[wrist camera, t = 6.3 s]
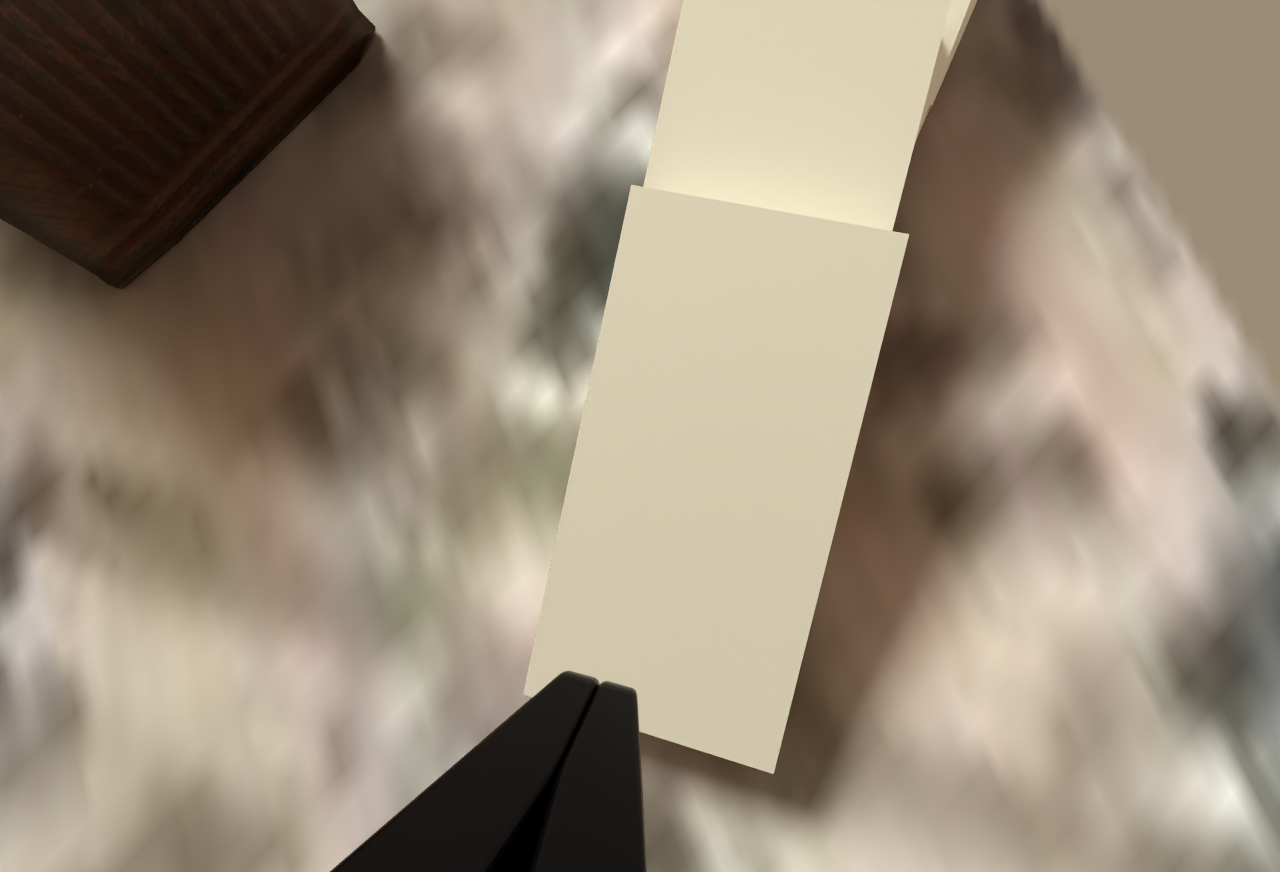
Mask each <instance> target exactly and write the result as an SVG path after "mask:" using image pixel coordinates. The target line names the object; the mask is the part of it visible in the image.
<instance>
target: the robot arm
mask: <svg viewBox="0 0 1280 872" xmlns="http://www.w3.org/2000/svg"><path fill="white" fill-rule="evenodd" d="M330 872H647V861H646V843H645V825H644V807H643V789H642V771H641V753H640V734H639V716H638V699H637V693H636V690H635V689H634V688H631V687H628V686H624V685H621V684H617V683H613V682H610V681H604V682H602V683H601V684H600V683H599V681H598V680H597V679H596V678H595V677H591V676H588V675H584V674H580V673H577V672H573V671H565V672H562V673H560V674H559V675H558V676H557V677H556V678H554V679H553V680H552V681H551V682H550V683H549V684H547V685H546V686H545V687H544V688H543V689H542V690H540V691H539V692H538V693H537V694H536V695H535V696H533V697H532V698H531V699H530V700H529V701H528V702H527V703H525V704H524V705H523V706H522V707H521V708H520V709H518V710H517V711H516V712H515V713H514V714H513V715H511V716H510V717H509V718H508V719H507V720H506V721H504V722H503V723H502V724H501V725H500V726H499V727H497V728H496V729H495V730H494V731H493V732H492V733H490V734H489V735H488V736H487V737H486V738H485V739H484V740H482V741H481V742H480V743H479V744H478V745H477V746H475V747H474V748H473V749H472V750H471V751H470V752H468V753H467V754H466V755H465V756H464V757H463V758H461V759H460V760H459V761H458V762H457V763H456V764H454V765H453V766H452V767H451V768H450V769H449V770H448V771H446V772H445V773H444V774H443V775H442V776H441V777H439V778H438V779H437V780H436V781H435V782H434V783H432V784H431V785H430V786H429V787H428V788H427V789H425V790H424V791H423V792H422V793H421V794H420V795H418V796H417V797H416V798H415V799H414V800H413V801H411V802H410V803H409V804H408V805H407V806H406V807H405V808H403V809H402V810H401V811H400V812H399V813H398V814H396V815H395V816H394V817H393V818H392V819H391V820H389V821H388V822H387V823H386V824H385V825H384V826H382V827H381V828H380V829H379V830H378V831H377V832H375V833H374V834H373V835H372V836H371V837H370V838H368V839H367V840H366V841H365V842H364V843H363V844H362V845H360V846H359V847H358V848H357V849H356V850H355V851H353V852H352V853H351V854H350V855H349V856H348V857H346V858H345V859H344V860H343V861H342V862H341V863H339V864H338V865H337V866H336V867H335V868H334V869H332V870H331V871H330Z"/></svg>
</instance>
